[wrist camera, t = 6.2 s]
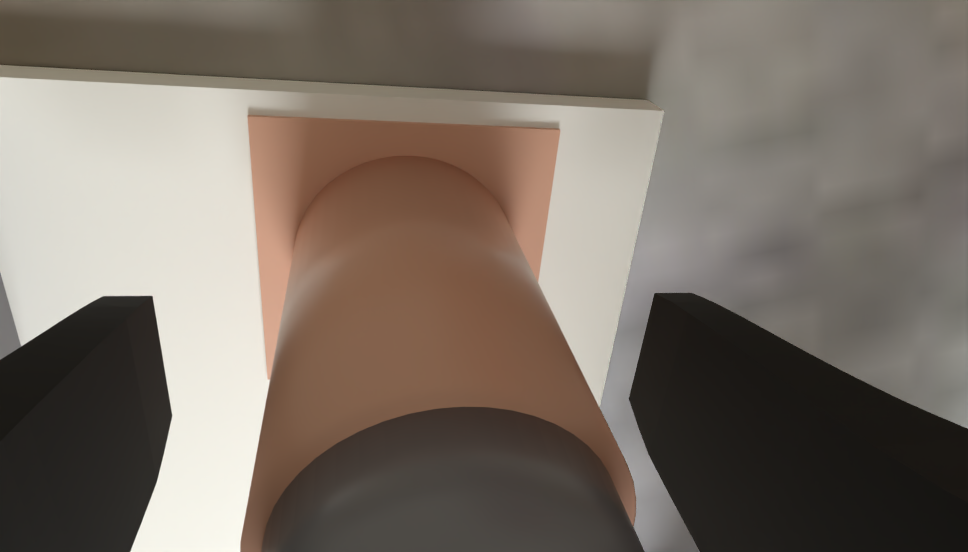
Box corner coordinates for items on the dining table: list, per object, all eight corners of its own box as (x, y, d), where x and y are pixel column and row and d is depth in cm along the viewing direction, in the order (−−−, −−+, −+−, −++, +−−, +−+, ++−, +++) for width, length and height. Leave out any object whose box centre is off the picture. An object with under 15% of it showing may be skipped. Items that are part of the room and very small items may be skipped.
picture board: (647, 99, 13) (723, 149, 10) (557, 541, 18) (590, 645, 16) (-580, 33, 9) (-952, 83, 7) (-224, 602, 15) (-348, 750, 12)
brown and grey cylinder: (525, 160, 12) (767, 518, 5) (500, 348, 14) (648, 800, 7) (290, 150, 11) (176, 560, 4) (297, 350, 13) (228, 866, 6)
